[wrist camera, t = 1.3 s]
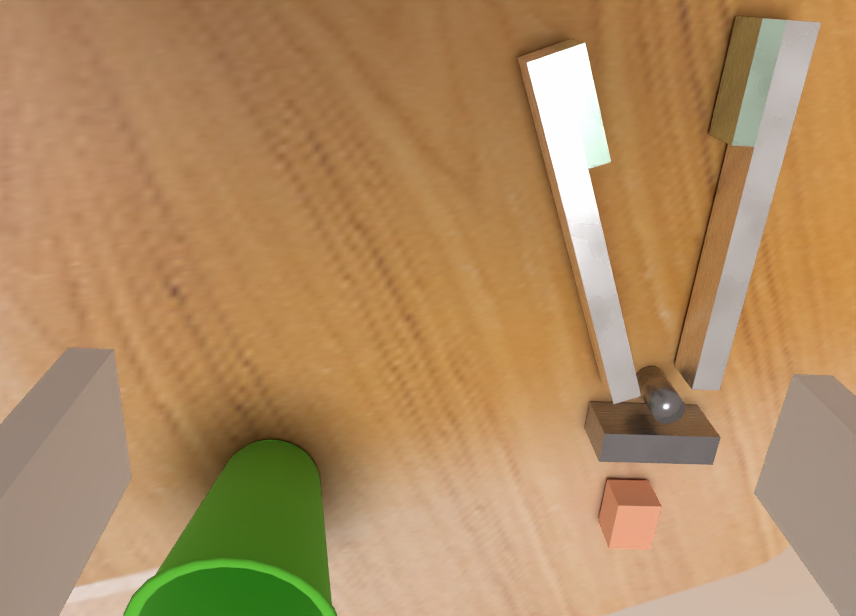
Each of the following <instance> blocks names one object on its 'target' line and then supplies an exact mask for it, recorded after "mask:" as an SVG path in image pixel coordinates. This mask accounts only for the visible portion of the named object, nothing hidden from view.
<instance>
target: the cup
mask: <svg viewBox="0 0 856 616" xmlns="http://www.w3.org/2000/svg"><path fill="white" fill-rule="evenodd" d="M123 616H337V614H336V611H335V609H334V607H333V606H332V602H331V591H330V580H329V569H328V558H327V548H326V537H325V526H324V515H323V504H322V493H321V483H320V475H319V472H318V469H317V467H316V465H315V464H314V462H313V461H312V459H311V458H310V457H309V455H308V454H307V453H305V452H304V451H303V450H302V449H301V448H299V447H297V446H295V445H293V444H291V443H288V442H284V441H281V440H262V441H257V442H255V443H252V444H249V445H247V446H246V447H244V448H243V449H241V450H239V451H238V452H236V453H235V454H234V455H233V456H232V458H231V459H230V460H229V461H228V463H227V464H226V466H225V467H224V469H223V470H222V472H221V474H220V475H219V477H218V478H217V480H216V481H215V483H214V484H213V486H212V488H211V489H210V491H209V492H208V494H207V495H206V497H205V498H204V500H203V502H202V503H201V505H200V506H199V508H198V509H197V511H196V512H195V514H194V516H193V517H192V519H191V520H190V522H189V523H188V525H187V526H186V528H185V530H184V531H183V533H182V534H181V536H180V537H179V539H178V540H177V542H176V544H175V545H174V547H173V548H172V550H171V551H170V553H169V554H168V556H167V558H166V559H165V561H164V562H163V564H162V565H161V567H160V568H159V570H158V572H157V573H156V575H155V576H153V577H151V578H150V579H148V580H147V581H146V582H145V583H144V584H143V585H142V586H141V587H140V588H139V589H138V590H137V591H136V592H135V593H134V594H133V596H132V598H131V600H130V602H129V604H128V606H127V608H126V610H125V612H124V615H123Z"/></svg>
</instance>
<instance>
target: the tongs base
mask: <svg viewBox="0 0 856 616" xmlns="http://www.w3.org/2000/svg"><path fill="white" fill-rule="evenodd" d="M820 25H821V23H819V22H807V21H796V20H783V19H769V18H755V17H742V16H736V18H735V22H734V27H733V31H732V35H731V40H730V44H729V48H728V53H727V57H726V62H725V66H724V70H723V75H722V79H721V83H720V88H719V92H718V96H717V101H716V105H715V110H714V114H713V118H712V123H711V127H710V131H709V135H711V136H713V137H715V138H717V139H719V140H721V141H724V142H726V143H728V146H727V150H726V154H725V159H724V163H723V167H722V171H721V175H720V179H719V183H718V188H717V192H716V196H715V200H714V204H713V208H712V212H711V217H710V221H709V225H708V229H707V233H706V237H705V241H704V246H703V250H702V254H701V258H700V262H699V266H698V270H697V274H696V279H695V283H694V287H693V291H692V295H691V299H690V303H689V308H688V312H687V316H686V320H685V324H684V328H683V332H682V337H681V341H680V345H679V349H678V353H677V357H676V361H675V367H676V369H677V370H678V371H679V373H680V374H681V375H682V377H683V378H684V379H685V381H686V382H687V383H688V385H689V386H690V387H691V389H693V390H720V386H721V383H722V379H723V375H724V372H725V368H726V365H727V361H728V357H729V354H730V350H731V347H732V343H733V339H734V336H735V332H736V328H737V325H738V321H739V318H740V314H741V310H742V307H743V303H744V299H745V296H746V292H747V289H748V285H749V281H750V278H751V274H752V271H753V267H754V263H755V260H756V256H757V252H758V249H759V245H760V242H761V238H762V234H763V231H764V227H765V224H766V220H767V216H768V213H769V209H770V205H771V202H772V198H773V195H774V191H775V187H776V184H777V180H778V176H779V173H780V169H781V166H782V162H783V158H784V155H785V151H786V148H787V144H788V140H789V137H790V133H791V129H792V126H793V122H794V119H795V115H796V111H797V108H798V104H799V100H800V97H801V93H802V90H803V86H804V82H805V79H806V75H807V72H808V68H809V64H810V61H811V57H812V53H813V50H814V46H815V43H816V39H817V35H818V32H819V28H820ZM636 377H637V381H638V385H639V389H640V394H641V396H642V398H643V400H644V401H645V403H646V404H645V403H616V404H613V402H589V407H588V412H587V417H586V423H585V430H586V433H587V435H588V437H589V440H590V442H591V444H592V446H593V449H594V451H595V453H596V456H597V458H598V460H599V461H600V462H636V463H672V464H708V465H713V462H714V458H715V455H716V451H717V448H718V444H719V441H720V436H719V434H718V433H717V432H716V430H715V429H714V428H713V426H712V425H711V423H710V422H709V421H708V419H707V418H706V417H705V415H704V414H703V412H702V411H701V410H700V408H699V407H698V406H697V405H685V404H684V402H683V401H682V399H681V398H680V396H679V395H678V393H677V392H676V391H675V389H674V388H673V386H672V385H671V383H670V382H669V381H668V379H667V378H666V376H665V375H664V373H663V372H662V371H661V370H660V369H659V368H657V367H653V366H650V367H645V368H643V369H641V370H640V371H639V372H638V373H637V374H636Z"/></svg>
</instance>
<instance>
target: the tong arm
mask: <svg viewBox="0 0 856 616" xmlns="http://www.w3.org/2000/svg"><path fill="white" fill-rule="evenodd" d="M517 58H518V62H519V66H520V70H521V74H522V77H523V81H524V85H525V89H526V93H527V97H528V101H529V105H530V108H531V112H532V116H533V120H534V124H535V128H536V132H537V135H538V139H539V143H540V147H541V151H542V155H543V159H544V163H545V166H546V170H547V174H548V178H549V182H550V186H551V190H552V193H553V197H554V201H555V205H556V209H557V213H558V217H559V221H560V224H561V228H562V232H563V236H564V240H565V244H566V248H567V251H568V255H569V259H570V263H571V267H572V271H573V275H574V278H575V282H576V286H577V290H578V294H579V298H580V302H581V306H582V309H583V313H584V317H585V321H586V325H587V329H588V333H589V336H590V340H591V344H592V348H593V352H594V356H595V360H596V364H597V367H598V371H599V375H600V379H601V381H602V383H603V385H604V387H605V389H606V391H607V393H608V395H609V396H610V398H611V400H612V402H613V404H616V403H620V402H623V401H626V400H630V399H633V398H637V397H640V396H641V394H640V389H639V385H638V381H637V377H636V372H635V368H634V364H633V359H632V355H631V351H630V346H629V342H628V338H627V334H626V329H625V325H624V321H623V316H622V312H621V308H620V303H619V299H618V295H617V291H616V286H615V282H614V278H613V273H612V269H611V265H610V260H609V256H608V252H607V248H606V243H605V239H604V235H603V230H602V226H601V222H600V217H599V213H598V209H597V205H596V200H595V196H594V192H593V187H592V183H591V179H590V175H589V170H588V169H590V168H594V167H597V166H600V165H603V164H606V163H609V162H611V159H610V155H609V150H608V145H607V141H606V136H605V132H604V127H603V122H602V118H601V113H600V109H599V104H598V99H597V95H596V90H595V86H594V81H593V76H592V72H591V67H590V63H589V58H588V53H587V49H586V44H585V43H584V42H581V41H577V40H574V39H569V40H566V41H563V42H560V43H557V44H555V45H552V46H549V47H546V48H543V49H540V50H537V51H534V52H531V53H529V54H526V55H523V56H520V57H517Z"/></svg>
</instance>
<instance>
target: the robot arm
mask: <svg viewBox="0 0 856 616" xmlns="http://www.w3.org/2000/svg"><path fill="white" fill-rule="evenodd" d="M131 478H132V476H131V469H130V462H129V454H128V447H127V440H126V432H125V425H124V418H123V411H122V403H121V396H120V389H119V381H118V374H117V367H116V359H115V352H114V349H93V348H68V349H67V350H66V351H65V352H64V353H63V354H62V355H61V356H60V358H59V359H58V360H57V361H56V362H55V363H54V364H53V366H52V367H51V368H50V369H49V370H48V371H47V372H46V373H45V375H44V376H43V377H42V378H41V379H40V380H39V381H38V382H37V384H36V385H35V386H34V387H33V388H32V389H31V390H30V391H29V393H28V394H27V395H26V396H25V397H24V398H23V399H22V401H21V402H20V403H19V404H18V405H17V406H16V407H15V408H14V410H13V411H12V412H11V413H10V414H9V415H8V416H7V417H6V419H5V420H4V421H3V422H2V423H1V424H0V616H59V615H60V613H61V611H62V609H63V607H64V605H65V603H66V601H67V599H68V598H69V596H70V594H71V592H72V590H73V588H74V586H75V584H76V582H77V580H78V579H79V577H80V575H81V573H82V571H83V569H84V567H85V565H86V563H87V561H88V560H89V558H90V556H91V554H92V552H93V550H94V548H95V546H96V544H97V542H98V541H99V539H100V537H101V535H102V533H103V531H104V529H105V527H106V525H107V523H108V522H109V520H110V518H111V516H112V514H113V512H114V510H115V508H116V506H117V505H118V503H119V501H120V499H121V497H122V495H123V493H124V491H125V489H126V487H127V486H128V484H129V482H130V480H131ZM754 493H755V495H756V496H757V498H758V499H759V501H760V502H761V503H762V505H763V506H764V508H765V509H766V510H767V512H768V513H769V515H770V516H771V518H772V519H773V520H774V522H775V523H776V525H777V526H778V528H779V529H780V530H781V532H782V533H783V535H784V536H785V538H786V539H787V540H788V542H789V543H790V545H791V546H792V547H793V549H794V550H795V552H796V553H797V554H798V556H799V557H800V559H801V560H802V562H803V563H804V565H805V566H806V567H807V569H808V570H809V571H810V573H811V574H812V576H813V577H814V579H815V580H816V582H817V583H818V584H819V586H820V587H821V589H822V590H823V591H824V593H825V594H826V596H827V597H828V599H829V600H830V602H831V603H832V604H833V606H834V607H835V609H836V610H837V611H838V613H839V614H840V616H856V396H855V395H854V394H853V393H852V392H850V391H849V390H848V389H847V388H846V387H845V386H844V385H843V384H842V383H840V382H839V381H838V380H837V379H836V378H835V377H834V376H830V375H803V374H793V376H792V379H791V382H790V385H789V388H788V391H787V394H786V397H785V400H784V403H783V406H782V409H781V412H780V416H779V419H778V422H777V425H776V428H775V431H774V434H773V437H772V440H771V443H770V446H769V449H768V452H767V455H766V458H765V461H764V464H763V467H762V470H761V473H760V476H759V479H758V483H757V486H756V489H755V492H754Z"/></svg>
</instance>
